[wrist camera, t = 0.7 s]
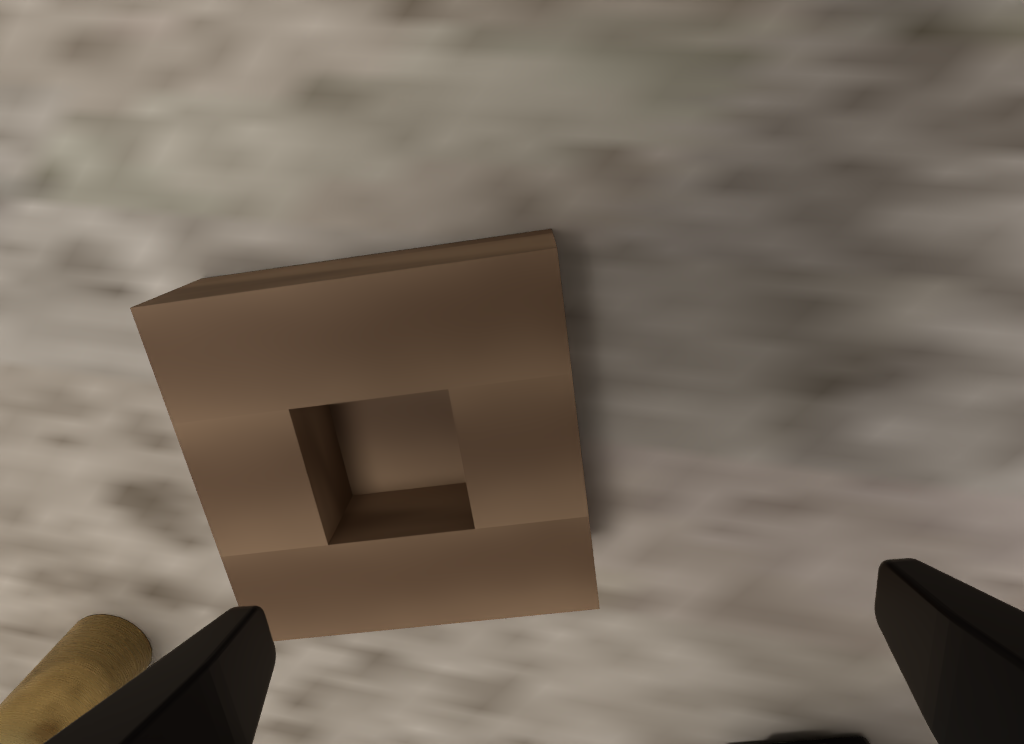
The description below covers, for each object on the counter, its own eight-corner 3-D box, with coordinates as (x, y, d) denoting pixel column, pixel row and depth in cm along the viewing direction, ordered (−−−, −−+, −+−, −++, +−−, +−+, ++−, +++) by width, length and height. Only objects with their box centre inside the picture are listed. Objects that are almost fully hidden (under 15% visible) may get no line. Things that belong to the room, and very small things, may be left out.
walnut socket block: (588, 537, 24) (599, 608, 20) (293, 568, 25) (252, 643, 21) (551, 228, 20) (557, 248, 16) (200, 278, 21) (129, 307, 17)
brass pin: (162, 673, 27) (-1, 912, 19) (88, 681, 27) (-107, 919, 19) (135, 610, 26) (-54, 834, 18) (57, 618, 26) (-165, 843, 18)
